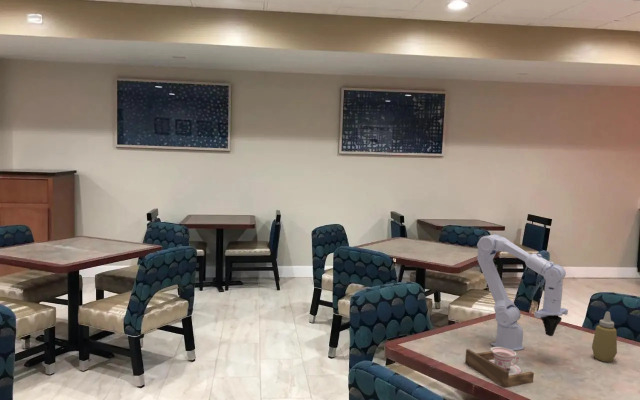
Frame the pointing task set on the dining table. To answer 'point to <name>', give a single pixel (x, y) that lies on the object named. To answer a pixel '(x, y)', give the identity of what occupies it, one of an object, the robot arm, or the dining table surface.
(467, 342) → the dining table surface
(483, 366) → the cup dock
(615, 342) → the squeeze bottle
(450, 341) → the dining table surface
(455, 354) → the dining table surface
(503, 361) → the teacup
